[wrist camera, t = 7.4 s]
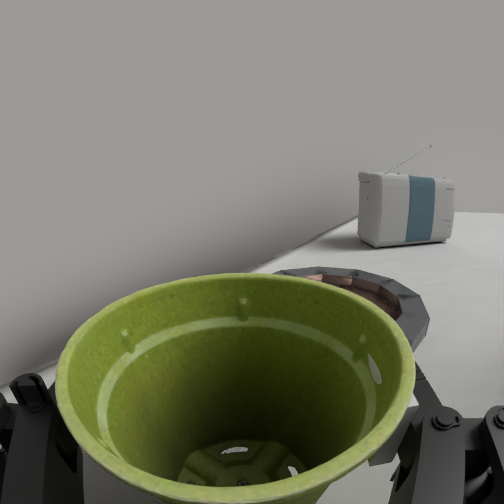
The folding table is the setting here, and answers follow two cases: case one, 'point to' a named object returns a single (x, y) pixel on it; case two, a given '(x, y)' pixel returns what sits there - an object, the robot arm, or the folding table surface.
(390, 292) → the steel ring
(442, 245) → the folding table surface
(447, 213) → the stereo radio cassette player
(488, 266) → the folding table surface
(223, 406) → the plant pot
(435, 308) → the folding table surface
